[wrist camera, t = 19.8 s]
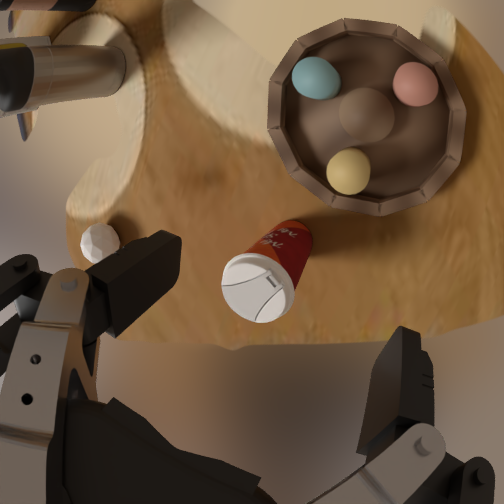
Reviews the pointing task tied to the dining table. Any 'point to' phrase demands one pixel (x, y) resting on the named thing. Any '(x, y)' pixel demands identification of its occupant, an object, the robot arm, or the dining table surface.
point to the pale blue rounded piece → (316, 79)
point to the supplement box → (22, 43)
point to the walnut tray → (389, 156)
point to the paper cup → (268, 273)
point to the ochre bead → (349, 170)
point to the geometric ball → (99, 242)
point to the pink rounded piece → (415, 84)
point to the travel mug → (46, 5)
